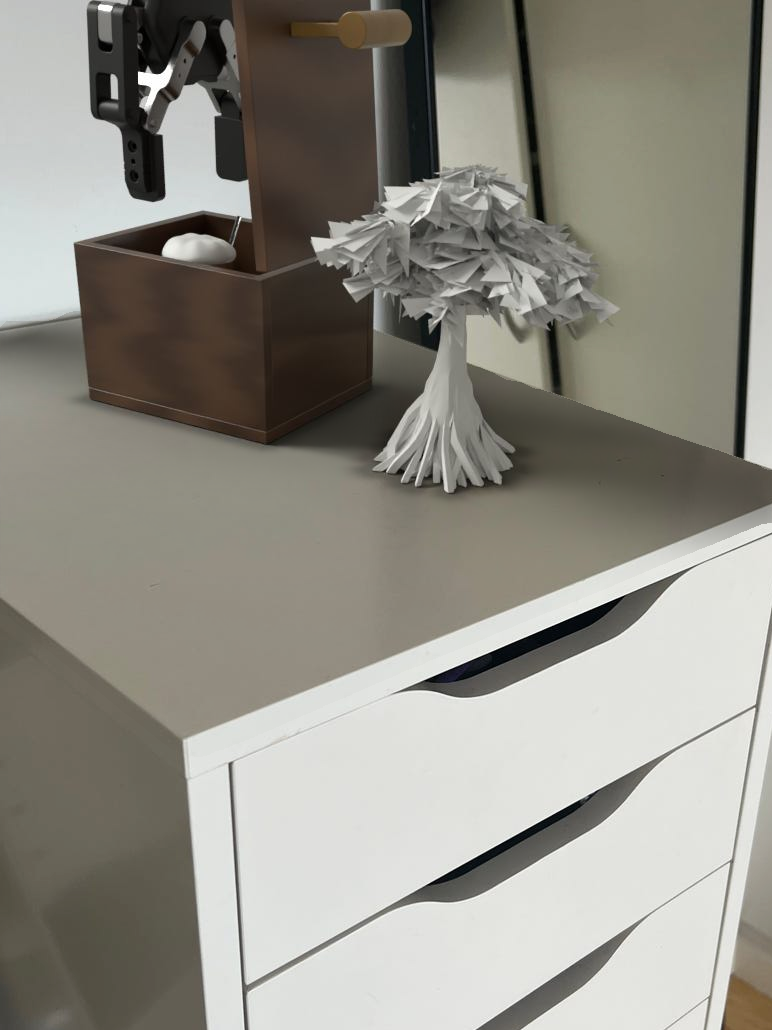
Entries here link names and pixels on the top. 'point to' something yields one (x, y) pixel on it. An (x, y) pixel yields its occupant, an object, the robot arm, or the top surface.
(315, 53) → the lid
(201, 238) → the milkshake
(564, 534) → the top surface
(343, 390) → the chest
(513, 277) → the tree
